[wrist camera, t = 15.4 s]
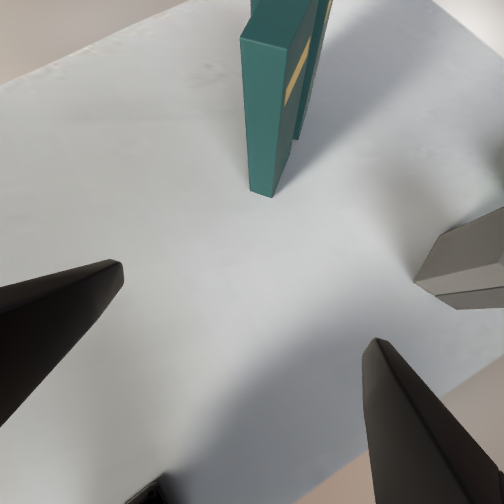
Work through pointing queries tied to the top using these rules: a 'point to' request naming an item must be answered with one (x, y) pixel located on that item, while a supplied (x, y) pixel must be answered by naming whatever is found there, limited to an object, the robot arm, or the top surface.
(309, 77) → the teal books
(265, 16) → the teal book
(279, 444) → the top surface
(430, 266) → the grey books
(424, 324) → the top surface
